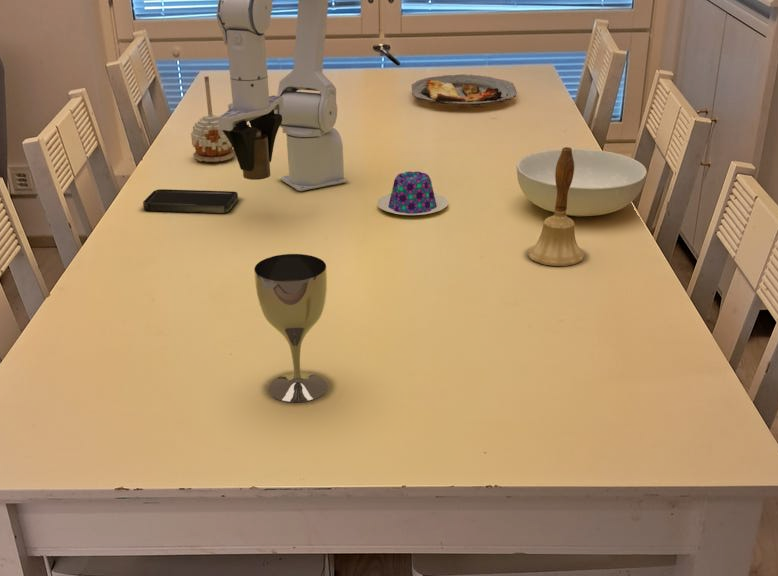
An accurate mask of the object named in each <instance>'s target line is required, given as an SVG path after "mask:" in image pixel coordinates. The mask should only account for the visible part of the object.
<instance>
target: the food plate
mask: <svg viewBox="0 0 778 576" xmlns="http://www.w3.org/2000/svg"><path fill="white" fill-rule="evenodd" d="M411 93H412V96H413V97H414V98H416V99H417V100H421V101H426V102H429V103H434V104H442V105H460V106H467V107H470V106H471V107H472V106H473V107H479V106H481V105H487V104H493V103H503V102H506V101H510V100H512V99H513V98H516V97H517V95H518V92H517V90H516V87H515V85H514V82H512V81H509V80H505V79H500V78H496V77H492V76H485V75H478V74H467V73H466V74H465V73H464V74H445V75H437V76H429V77H426V78H425V77H424V78H421V79H419V80H416V81H415V82H413V83H411Z"/></svg>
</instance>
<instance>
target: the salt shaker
mask: <svg viewBox="0 0 778 576" xmlns="http://www.w3.org/2000/svg"><path fill="white" fill-rule="evenodd" d="M270 163H271V162H270V161H269V147H268V136H267V135H266V134H263V133H261V131H260V130H258V131H257V134H256V138H255V143H254V168H253V170H252V171H246V170H242V177H243V178H244V179H246V180H250V181H251V180H252V181H260V180H265V179H268V178H269V177H271V164H270Z"/></svg>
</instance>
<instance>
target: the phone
mask: <svg viewBox="0 0 778 576" xmlns="http://www.w3.org/2000/svg"><path fill="white" fill-rule="evenodd" d="M238 193H239V192H238V191H234V190H233V191H232V190H231V191H230V190H228V191H227V190H226V191H225V190H201V189H200V190H198V189H197V190H196V189H166V188H164V189H163V188H159V189H155V190H153V191H152V192H151V193H150V194H149V195H148V196H147V197H146V198H145V200H143V201H142V206H143V210H145V211H148V212H149V211H150V212H153V211H154V212H177V213H179V212H180V213H181V212H182V213H209V214H225V213H229V212H230V211H231V210H232V208H234V206H235V205H236V203H237V202H238V201H239V194H238Z"/></svg>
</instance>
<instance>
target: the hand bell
mask: <svg viewBox="0 0 778 576" xmlns="http://www.w3.org/2000/svg"><path fill="white" fill-rule="evenodd" d="M561 149H562V152H561V155H560V157H559V159H558V162H557V165H556V172H555V180H556V186H557V198H556V206H555V211H554V212H553V215H551V216H548V217H547V218H545V219H544V221H543V226H542V228H541V232H540V235H539V237H538V240H537V241H536V243H534V244H533V245H532V246H531V247H530V248H529V250H528V251H527V256H528V258H529V259H530V260H531V261H533V262H536V263H538V264H541V265H546V266H552V267H565V266H566V267H568V266H573V265H577V264H579V263H580V262H582V261H583V260H584V258H585V254H584V252H583V250H582V249H581V248H580V247H579V245H578V243H577V240H576V233H575V231H576V230H575V221H574V220H573V219H572V218H570V217H569V216H568V215H566V210H567V196H568V190H569V188H570V185H571V183H572V179H573V174H574V160H573V156H572V149H573V148H572V147H568V146H566V147H562V148H561Z"/></svg>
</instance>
